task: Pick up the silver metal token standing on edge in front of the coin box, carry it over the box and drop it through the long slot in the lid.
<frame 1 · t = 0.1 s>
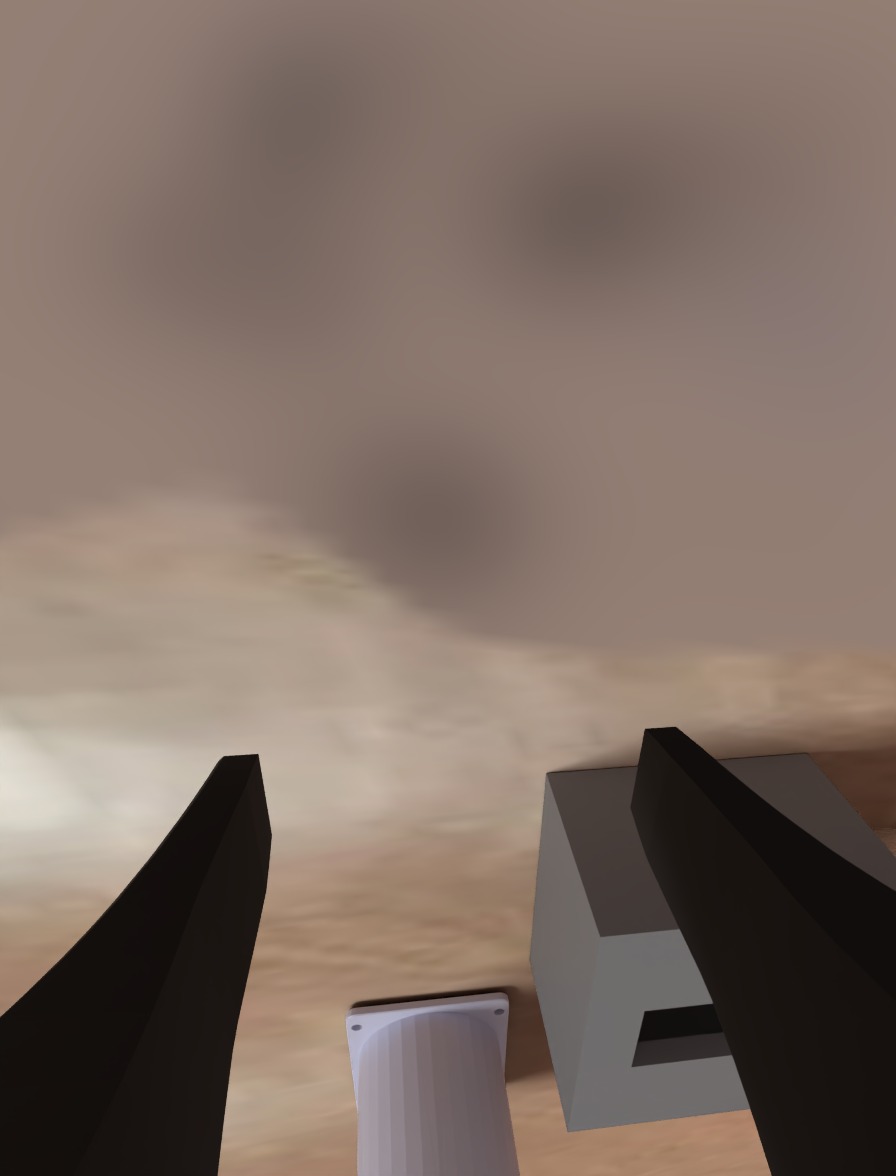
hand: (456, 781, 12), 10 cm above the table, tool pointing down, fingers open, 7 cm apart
coin box: (657, 864, 30), on the table
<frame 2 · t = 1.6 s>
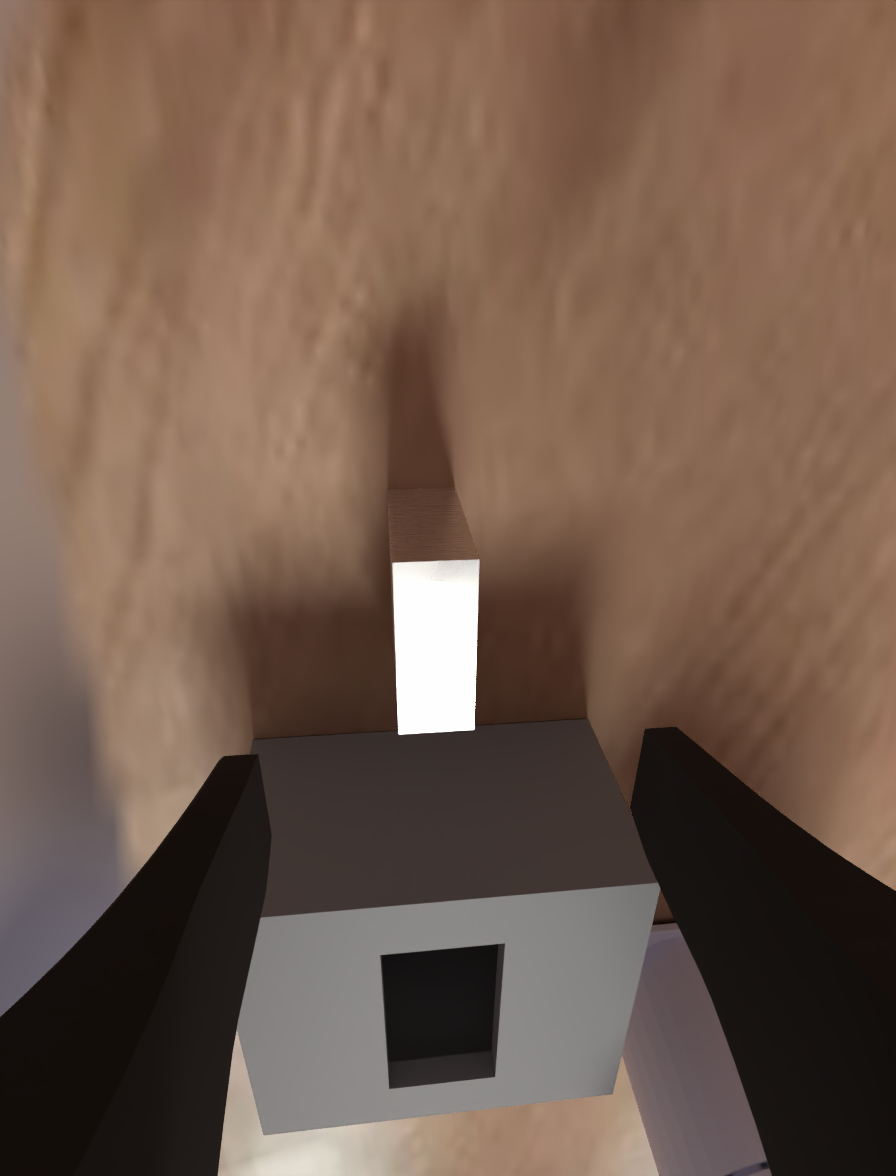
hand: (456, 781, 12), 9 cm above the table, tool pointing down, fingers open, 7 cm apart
token: (422, 564, 21), on the table
coin box: (425, 837, 26), on the table
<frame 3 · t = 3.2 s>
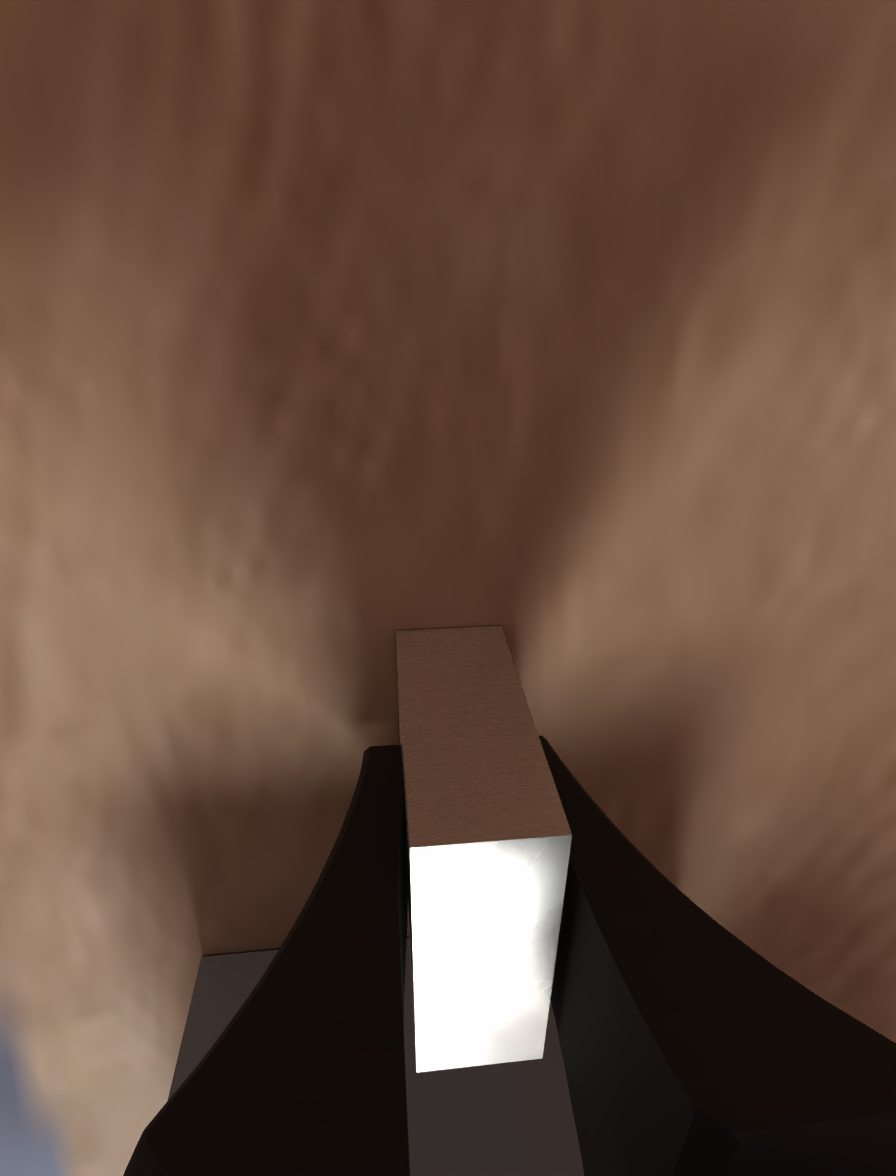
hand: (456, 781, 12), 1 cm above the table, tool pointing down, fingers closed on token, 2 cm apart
token: (448, 732, 14), on the table, touching gripper
coin box: (445, 1054, 19), on the table
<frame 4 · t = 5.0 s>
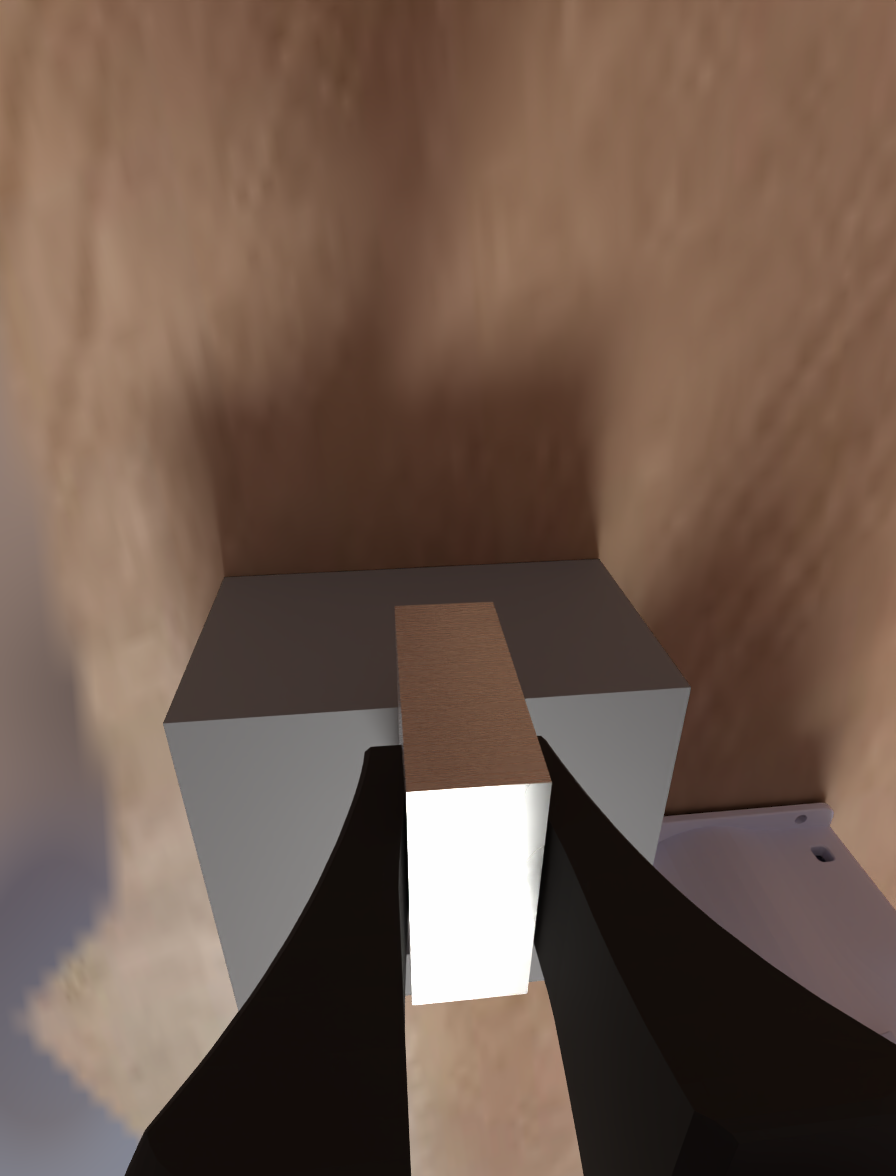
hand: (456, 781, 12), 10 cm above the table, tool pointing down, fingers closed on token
token: (443, 701, 15), point 7 cm above the table, touching gripper
coin box: (420, 704, 24), on the table
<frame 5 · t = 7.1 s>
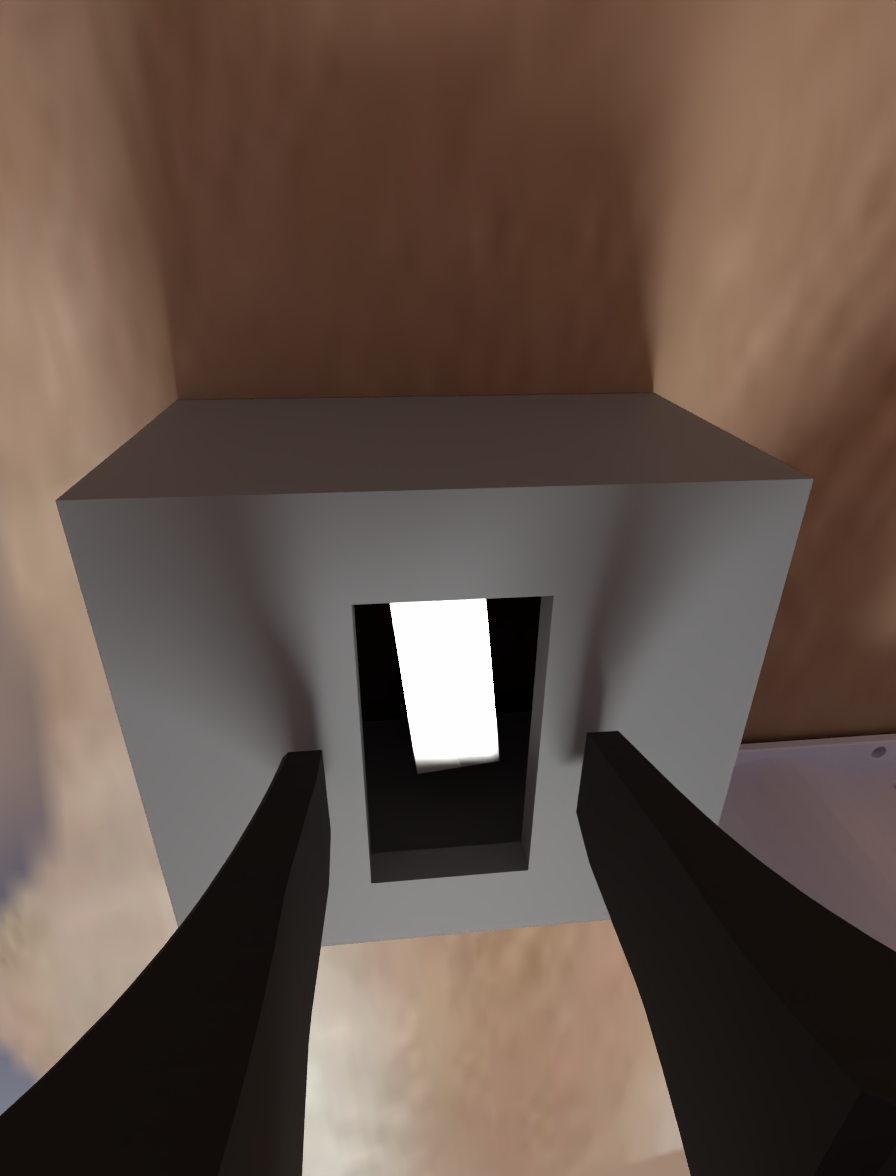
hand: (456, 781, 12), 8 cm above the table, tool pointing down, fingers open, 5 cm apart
token: (428, 581, 19), resting in coin box
coin box: (425, 589, 19), on the table
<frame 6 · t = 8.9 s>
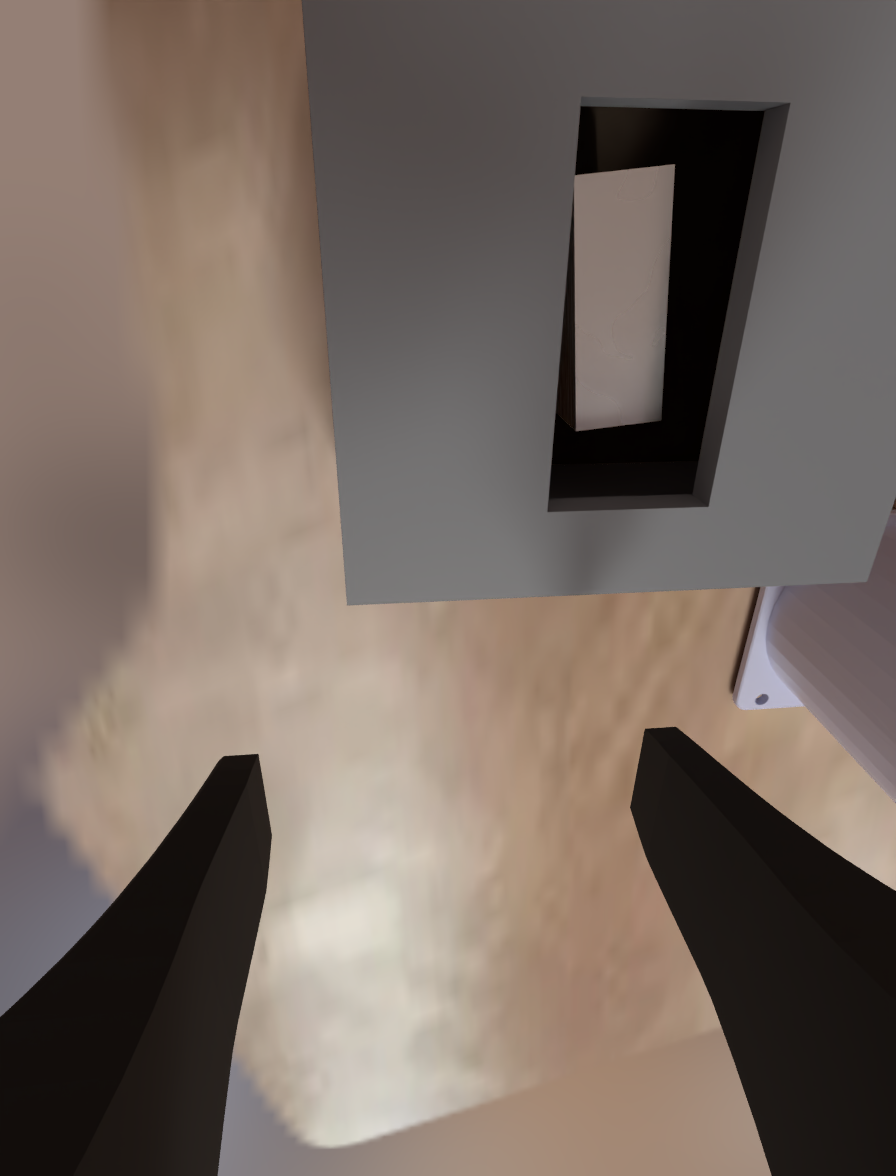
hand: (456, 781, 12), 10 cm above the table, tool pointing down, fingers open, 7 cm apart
token: (561, 292, 18), resting in coin box
coin box: (559, 301, 18), on the table
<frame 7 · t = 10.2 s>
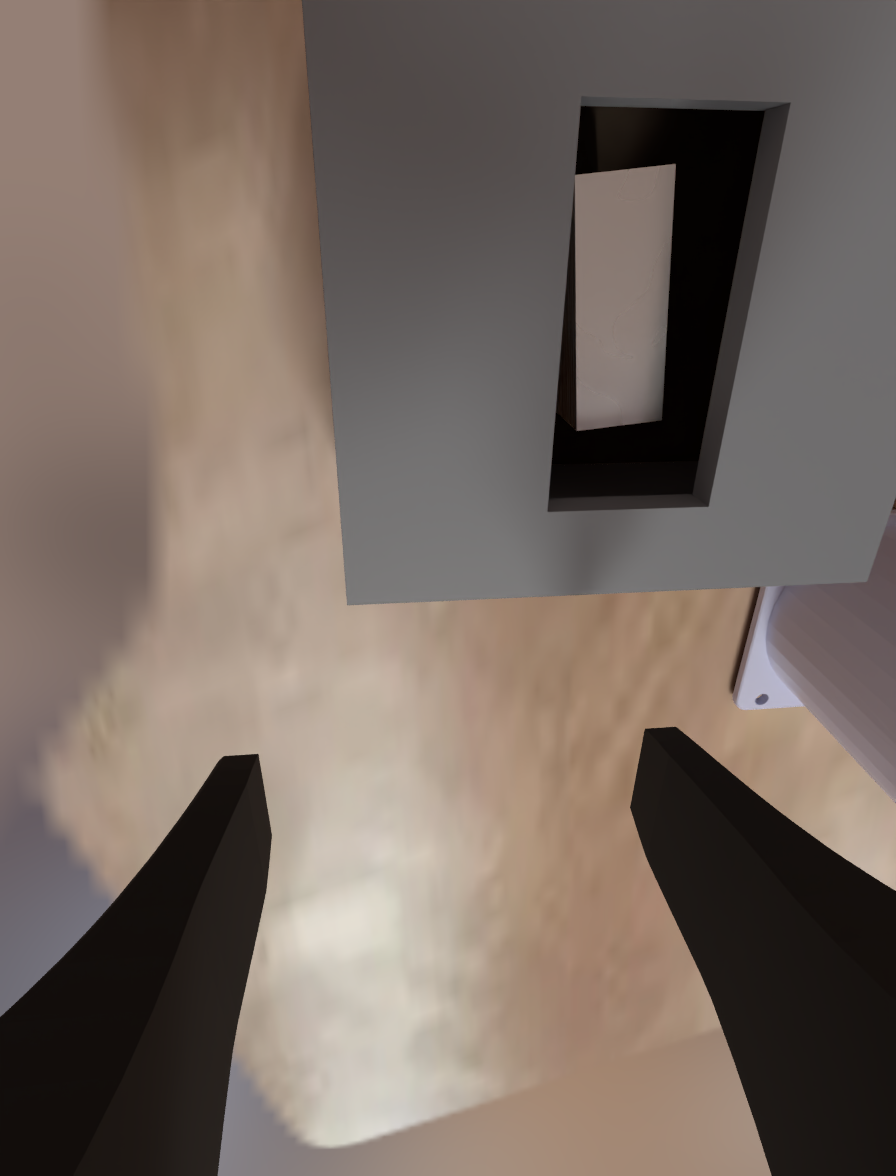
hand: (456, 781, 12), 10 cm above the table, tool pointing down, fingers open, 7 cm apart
token: (561, 292, 18), resting in coin box
coin box: (559, 301, 18), on the table
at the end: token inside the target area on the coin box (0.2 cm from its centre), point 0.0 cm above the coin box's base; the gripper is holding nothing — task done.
